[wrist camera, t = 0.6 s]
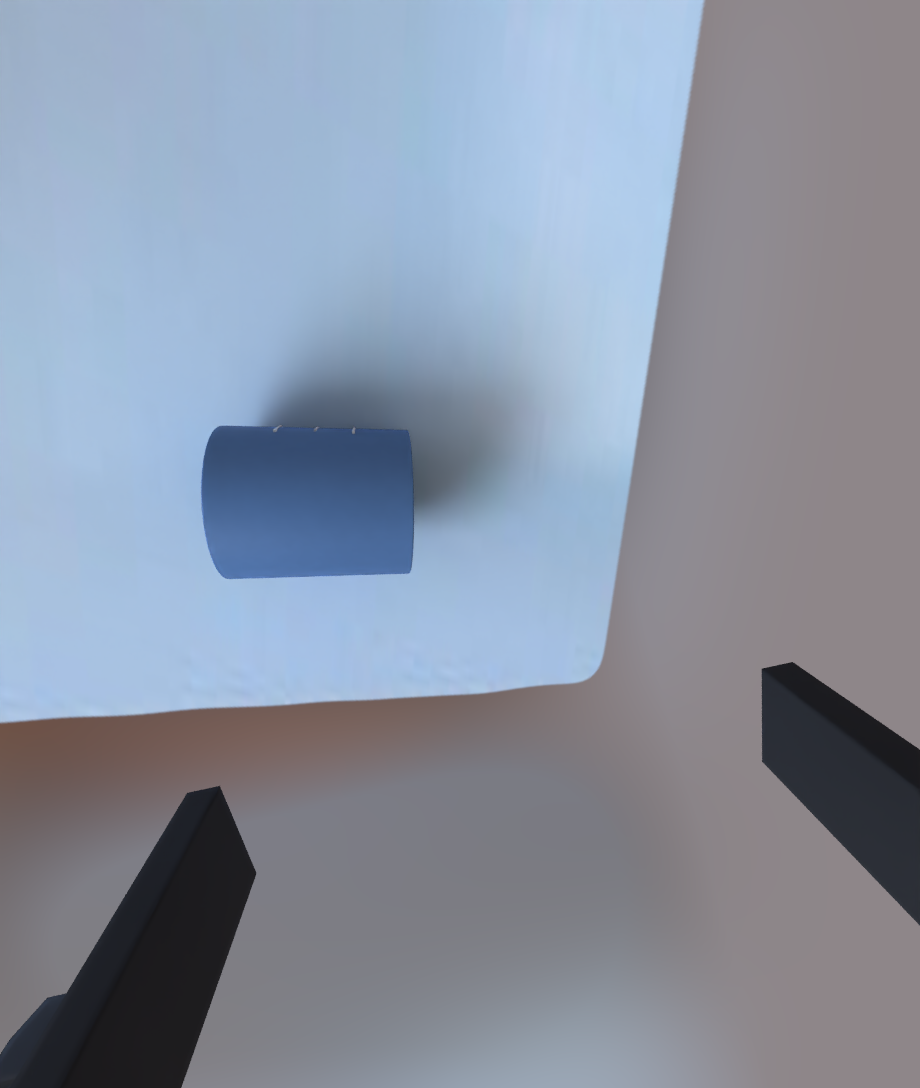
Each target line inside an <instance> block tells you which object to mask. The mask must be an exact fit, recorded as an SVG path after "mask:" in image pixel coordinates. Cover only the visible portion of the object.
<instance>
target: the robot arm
mask: <svg viewBox="0 0 920 1088" xmlns="http://www.w3.org/2000/svg"><path fill="white" fill-rule="evenodd" d="M762 762H763V763H764V764H765V765H766V766H767V767H768V768H769V769H770V770H771V771H772V772H773V773H774V774H775V775H776V776H777V777H778V778H779V779H780V780H781V781H782V782H783V784H784V785H785V786H786V787H787V788H788V789H789V790H790V791H791V792H792V793H793V794H794V795H795V796H796V797H797V798H798V799H799V800H800V801H801V802H802V803H803V804H804V805H805V806H806V808H807V809H808V810H809V811H810V812H811V813H812V814H813V815H814V816H815V817H816V818H817V819H818V820H819V821H820V822H821V823H822V824H823V825H824V826H825V827H826V828H827V829H828V830H829V831H830V832H831V834H833V836H834V837H835V838H836V839H837V840H838V841H839V842H840V843H841V844H842V845H843V846H844V847H845V848H846V849H847V850H848V851H849V852H850V853H851V854H852V855H853V856H854V857H855V858H856V860H858V862H859V863H860V864H861V865H862V866H863V867H864V868H865V869H866V870H867V871H868V872H869V873H870V874H871V875H872V876H873V877H874V878H875V879H876V880H877V881H878V882H879V883H880V884H881V886H882V887H883V888H884V889H886V891H887V892H888V893H889V894H890V895H891V896H892V897H893V898H894V899H895V900H896V901H897V902H898V903H899V904H900V905H901V906H902V907H903V908H904V909H905V910H906V911H907V913H908V914H910V916H911V917H912V918H913V919H914V920H915V921H916V922H917V923H918V924H919V925H920V750H919V749H918V748H917V747H915V746H914V745H912V744H911V743H909V742H908V741H906V740H905V739H904V738H902V737H901V736H899V735H898V734H896V733H895V732H893V731H892V730H890V729H889V728H888V727H886V726H885V725H883V724H882V723H880V722H879V721H877V720H876V719H874V718H873V717H872V716H870V715H869V714H867V713H865V712H864V711H863V710H861V709H860V708H858V707H857V706H855V705H854V704H853V703H851V702H850V701H848V700H847V699H845V698H844V697H842V696H841V695H839V694H838V693H836V692H835V691H834V690H832V689H831V688H829V687H828V686H826V685H825V684H824V683H822V682H821V681H819V680H818V679H816V678H815V677H813V676H812V675H810V674H809V673H808V672H806V671H805V670H803V669H802V668H800V667H799V666H797V665H796V664H795V663H793V662H791V663H786V664H782V665H777V666H772V667H768V668H763V669H762ZM255 876H256V871H255V869H254V866H253V864H252V862H251V859H250V857H249V855H248V852H247V850H246V848H245V845H244V843H243V840H242V838H241V835H240V833H239V831H238V828H237V826H236V824H235V821H234V819H233V816H232V814H231V812H230V809H229V807H228V805H227V802H226V800H225V798H224V795H223V793H222V790H221V788H220V786H218V787H213V788H209V789H204V790H199V791H194V792H190V793H187V794H186V796H185V798H184V800H183V801H182V803H181V804H180V806H179V807H178V809H177V811H176V813H175V814H174V816H173V818H172V819H171V821H170V822H169V824H168V826H167V828H166V829H165V831H164V832H163V834H162V836H161V837H160V839H159V841H158V842H157V844H156V846H155V847H154V849H153V851H152V852H151V854H150V856H149V857H148V859H147V861H146V862H145V864H144V866H143V867H142V869H141V871H140V872H139V874H138V876H137V877H136V879H135V880H134V882H133V884H132V885H131V887H130V889H129V890H128V892H127V894H126V895H125V897H124V899H123V901H122V902H121V904H120V905H119V907H118V909H117V910H116V912H115V914H114V915H113V917H112V919H111V921H110V922H109V924H108V925H107V927H106V929H105V930H104V932H103V934H102V935H101V937H100V939H99V940H98V942H97V944H96V945H95V947H94V949H93V950H92V952H91V954H90V955H89V957H88V959H87V960H86V962H85V964H84V965H83V967H82V969H81V970H80V972H79V974H78V975H77V977H76V979H75V980H74V982H73V984H72V985H71V987H70V988H69V990H68V992H67V993H66V994H62V995H58V996H53V997H49V998H47V999H46V1000H45V1001H44V1002H43V1003H42V1004H41V1006H40V1007H39V1008H38V1009H37V1010H36V1011H35V1012H34V1013H33V1014H32V1015H31V1017H30V1018H29V1019H28V1020H27V1021H26V1022H25V1023H24V1024H23V1025H22V1027H21V1028H20V1029H19V1030H18V1031H17V1032H16V1033H15V1034H14V1035H13V1037H12V1038H11V1039H10V1040H9V1042H8V1043H7V1045H6V1046H5V1048H4V1049H3V1051H2V1052H1V1054H0V1088H181V1087H182V1084H183V1081H184V1078H185V1075H186V1072H187V1070H188V1067H189V1064H190V1061H191V1058H192V1055H193V1053H194V1050H195V1047H196V1044H197V1041H198V1038H199V1035H200V1033H201V1030H202V1027H203V1024H204V1021H205V1018H206V1016H207V1013H208V1010H209V1007H210V1004H211V1001H212V998H213V996H214V992H215V990H216V987H217V984H218V981H219V979H220V976H221V973H222V970H223V967H224V964H225V961H226V959H227V956H228V953H229V950H230V947H231V944H232V941H233V939H234V936H235V932H236V930H237V927H238V924H239V922H240V919H241V916H242V913H243V910H244V907H245V904H246V902H247V899H248V896H249V893H250V890H251V887H252V884H253V882H254V879H255Z"/></svg>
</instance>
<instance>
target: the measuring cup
mask: <svg viewBox="0 0 920 1088" xmlns="http://www.w3.org/2000/svg"><path fill="white" fill-rule="evenodd" d="M201 498H202V515H203V523H204V530H205V536H206V540H207V545H208V548H209V552H210V555H211V558H212V560H213V563H214V565H215V567H216V569H217V570H218V572H219V573H220V574H221V575H222V576H223V577H225V578H227V579H243V578H276V577H309V576H341V575H374V574H406V573H410V571H411V567H412V558H413V538H414V489H413V465H412V451H411V442H410V436H409V432H408V431H407V430H384V429H356V427H353V429H340V428H319V427H316V428H297V427H282V425H279V426H278V427H253V426H219V427H217V428H216V429H215V430H214V431H213V432H212V434H211V436H210V438H209V440H208V443H207V446H206V450H205V455H204V460H203V468H202V482H201Z"/></svg>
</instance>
